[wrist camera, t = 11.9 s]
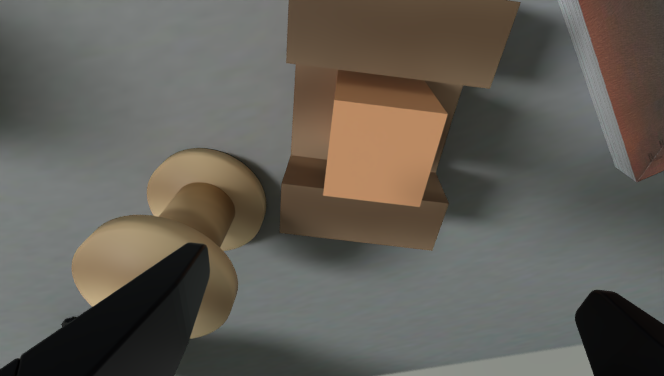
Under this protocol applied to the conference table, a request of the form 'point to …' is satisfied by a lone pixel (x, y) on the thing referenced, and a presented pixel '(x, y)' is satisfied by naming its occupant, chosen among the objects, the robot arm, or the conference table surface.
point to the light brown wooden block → (382, 138)
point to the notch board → (390, 60)
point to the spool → (179, 230)
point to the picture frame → (624, 76)
